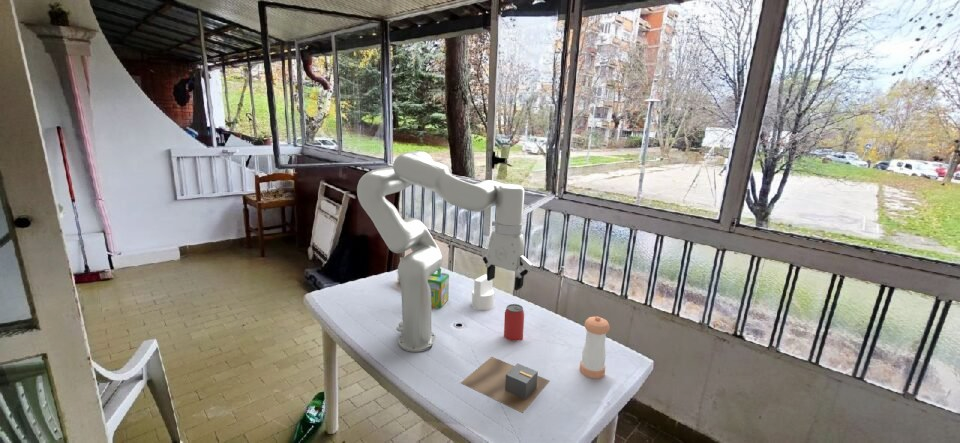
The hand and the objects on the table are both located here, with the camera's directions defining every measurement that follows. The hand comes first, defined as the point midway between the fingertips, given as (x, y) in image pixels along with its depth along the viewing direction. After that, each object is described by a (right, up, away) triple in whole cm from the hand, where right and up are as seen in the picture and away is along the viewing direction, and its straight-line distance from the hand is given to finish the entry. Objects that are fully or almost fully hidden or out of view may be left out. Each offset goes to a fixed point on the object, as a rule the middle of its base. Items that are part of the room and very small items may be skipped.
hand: (504, 284), depth 120 cm
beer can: (+4, -22, +21) cm, 31 cm away
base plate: (0, -29, -4) cm, 29 cm away
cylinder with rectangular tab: (-6, -16, +45) cm, 48 cm away
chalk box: (-26, -15, +47) cm, 55 cm away
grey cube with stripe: (+4, -28, -7) cm, 29 cm away
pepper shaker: (+26, -28, +2) cm, 38 cm away
